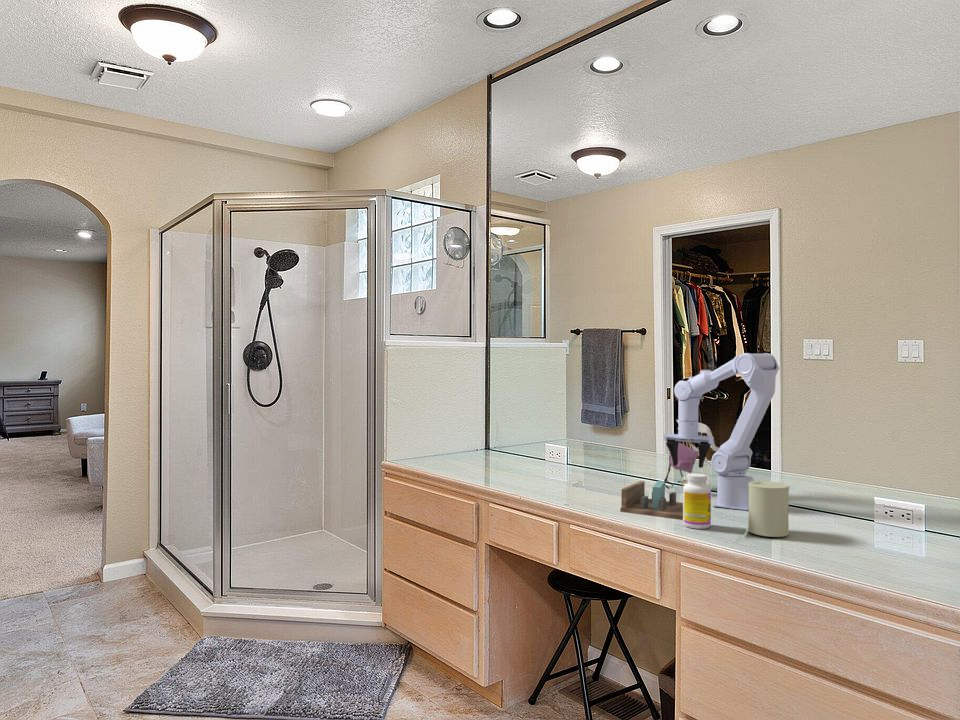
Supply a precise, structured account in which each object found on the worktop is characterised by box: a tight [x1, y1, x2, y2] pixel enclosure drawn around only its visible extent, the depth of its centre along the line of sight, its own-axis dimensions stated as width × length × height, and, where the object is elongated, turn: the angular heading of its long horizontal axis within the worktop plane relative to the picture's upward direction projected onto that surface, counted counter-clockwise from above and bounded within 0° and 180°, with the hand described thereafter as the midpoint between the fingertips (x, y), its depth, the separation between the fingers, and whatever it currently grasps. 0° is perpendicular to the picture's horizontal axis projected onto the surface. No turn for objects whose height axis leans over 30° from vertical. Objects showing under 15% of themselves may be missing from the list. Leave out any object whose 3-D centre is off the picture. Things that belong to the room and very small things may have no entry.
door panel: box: [652, 480, 666, 510], centre depth 190 cm, size 2×10×6 cm, turn 158°
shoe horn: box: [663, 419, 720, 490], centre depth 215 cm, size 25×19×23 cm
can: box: [747, 480, 790, 538], centre depth 166 cm, size 9×9×12 cm
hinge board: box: [619, 480, 683, 521], centre depth 189 cm, size 18×16×6 cm
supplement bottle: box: [682, 472, 712, 530], centre depth 171 cm, size 7×7×13 cm
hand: (688, 466), depth 206 cm, fingers open, 7 cm apart
